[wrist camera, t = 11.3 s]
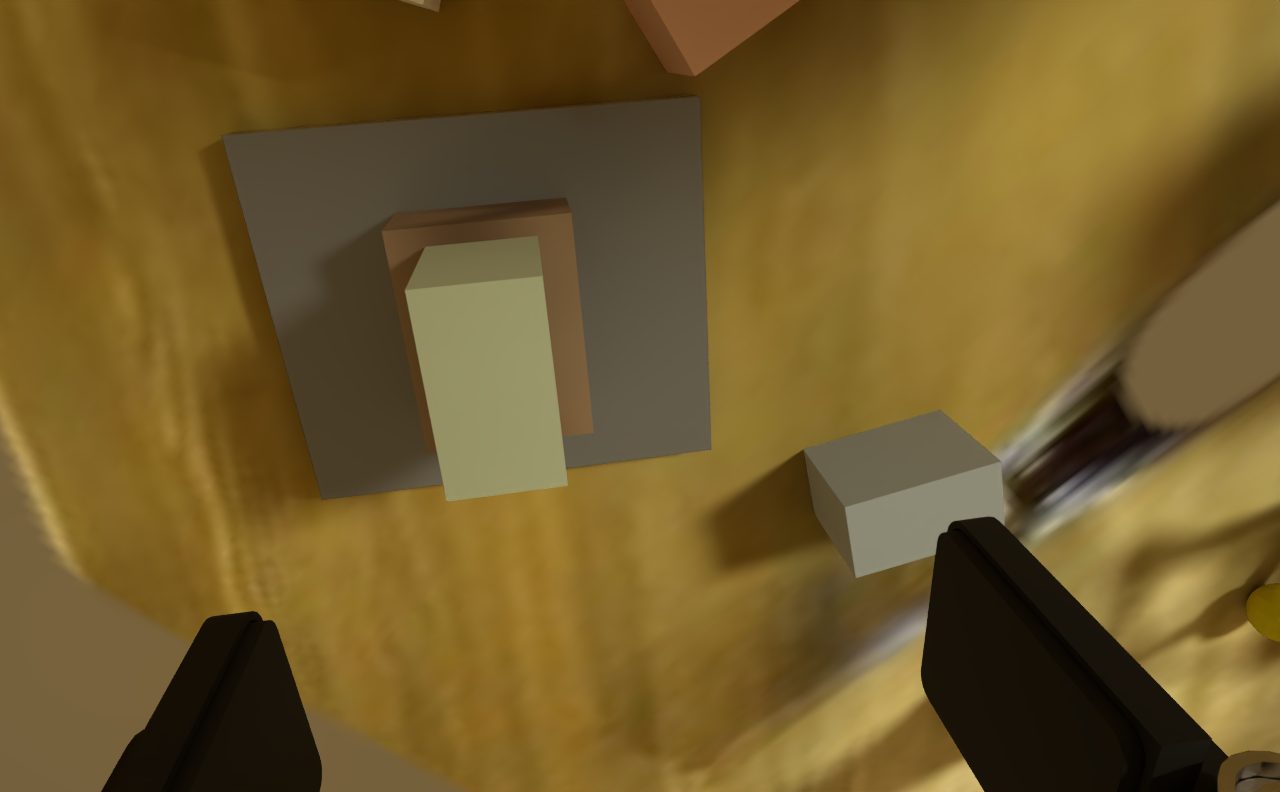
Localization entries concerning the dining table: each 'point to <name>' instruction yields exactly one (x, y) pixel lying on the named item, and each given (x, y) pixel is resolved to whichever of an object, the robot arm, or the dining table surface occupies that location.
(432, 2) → the brick cream
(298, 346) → the slate board
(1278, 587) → the educational toy
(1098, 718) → the robot arm
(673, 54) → the brick terracotta
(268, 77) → the dining table surface
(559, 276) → the brick walnut
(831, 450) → the grey block
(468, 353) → the brick sage
